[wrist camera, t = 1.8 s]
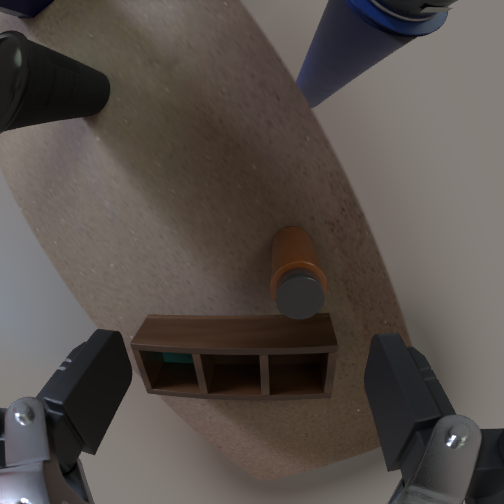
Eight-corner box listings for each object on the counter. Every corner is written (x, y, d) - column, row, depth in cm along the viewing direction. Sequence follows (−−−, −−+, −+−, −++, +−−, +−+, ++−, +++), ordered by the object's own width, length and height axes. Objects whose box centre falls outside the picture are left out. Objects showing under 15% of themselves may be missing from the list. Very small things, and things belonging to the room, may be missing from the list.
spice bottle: (270, 227, 29) (268, 271, 19) (313, 225, 28) (332, 269, 19) (271, 267, 30) (270, 325, 21) (313, 265, 30) (329, 323, 20)
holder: (148, 314, 33) (129, 343, 28) (329, 313, 31) (338, 345, 26) (161, 362, 36) (147, 393, 30) (324, 363, 34) (330, 398, 29)
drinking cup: (73, 57, 23) (-81, 30, 5) (132, 61, 24) (-32, 5, 5) (55, 124, 26) (-104, 147, 7) (111, 135, 26) (-67, 161, 8)
